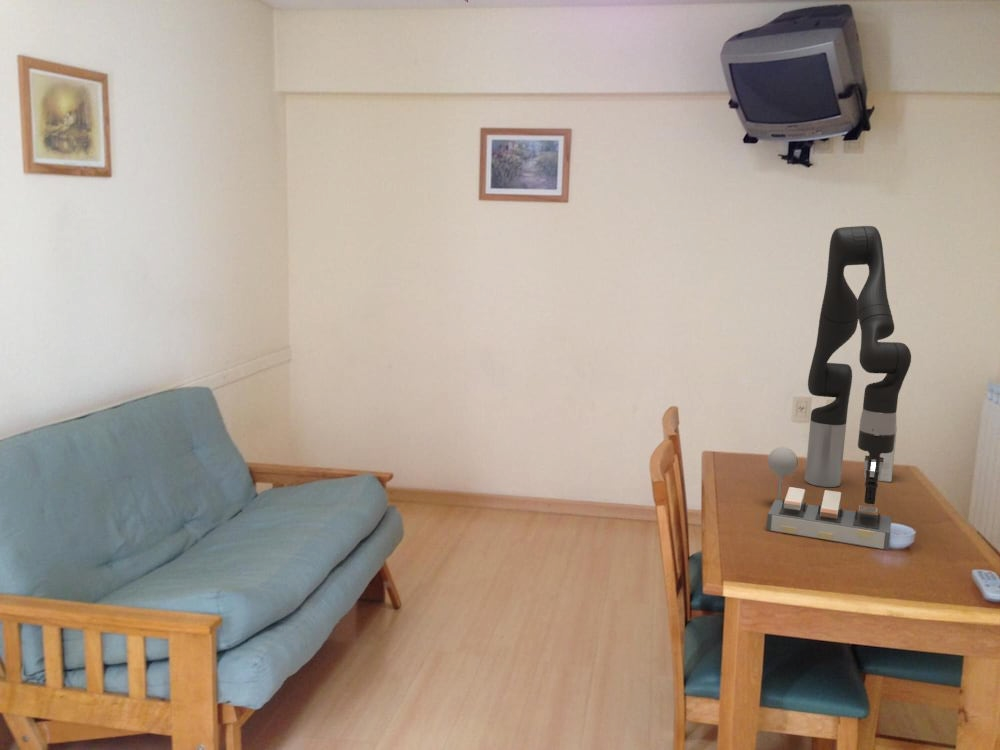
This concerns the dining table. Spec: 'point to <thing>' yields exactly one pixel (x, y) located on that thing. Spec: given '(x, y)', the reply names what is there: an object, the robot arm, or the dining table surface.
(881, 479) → the skincare box
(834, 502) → the switch
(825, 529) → the switch unit
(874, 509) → the switch
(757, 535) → the dining table surface
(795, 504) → the switch
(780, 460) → the lollipop
